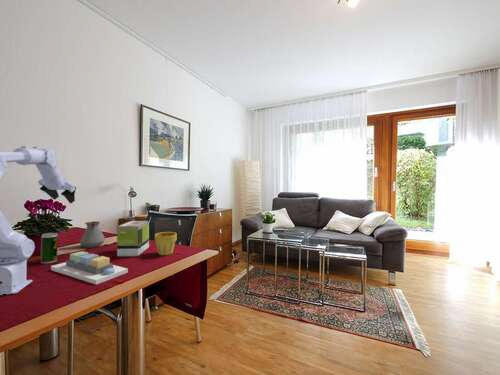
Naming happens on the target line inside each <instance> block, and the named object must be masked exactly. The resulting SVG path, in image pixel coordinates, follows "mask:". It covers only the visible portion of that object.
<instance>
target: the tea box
mask: <svg viewBox="0 0 500 375" xmlns="http://www.w3.org/2000/svg"><path fill="white" fill-rule="evenodd" d="M149 223H150V221H149V220H130V221H127V222H124V223H122V224H120V225H118V226H117V228H116V256H117V257H139V256H140V255H141V254H142V253H143V252H145V251H146V250H147V249H149V247H150V224H149Z"/></svg>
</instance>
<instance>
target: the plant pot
mask: <svg viewBox="0 0 500 375" xmlns="http://www.w3.org/2000/svg"><path fill="white" fill-rule="evenodd" d="M177 239H178V236H177V232H174V231H164V232H158V233H155V234H154V242H155V243H156V244H155V245H156V248H157V252H158V255H159V256H168V255H172V254H173V252H174V248H175V244H176V242H177Z"/></svg>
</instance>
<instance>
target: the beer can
mask: <svg viewBox="0 0 500 375" xmlns="http://www.w3.org/2000/svg"><path fill="white" fill-rule="evenodd" d="M58 237H59V235H58V232H47V233H43V234H41V237H40V239H41V240H40V263H41V264H43V265H44V264H45V265H47V264H51V263H55V262H57V260H58V251H59V250H58V246H59V242H58V241H59V238H58Z"/></svg>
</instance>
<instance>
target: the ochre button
mask: <svg viewBox="0 0 500 375" xmlns="http://www.w3.org/2000/svg"><path fill="white" fill-rule="evenodd" d="M110 259H111V258H110V257H107V256H104V255H101V256H99V257H97V258H93V259H90V267H94V268H100V267H104V266H107V265H110Z"/></svg>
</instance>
